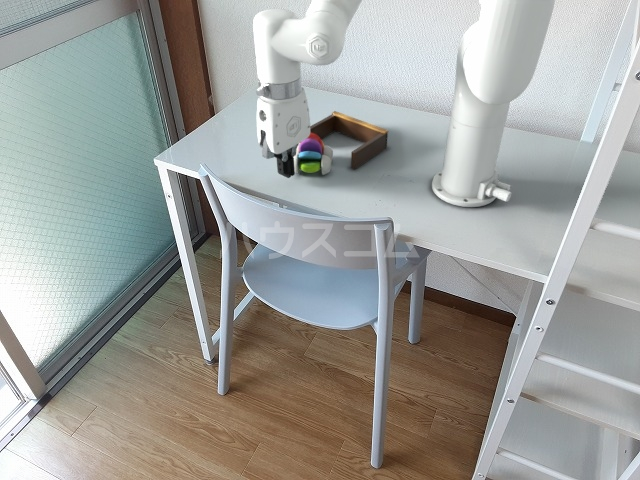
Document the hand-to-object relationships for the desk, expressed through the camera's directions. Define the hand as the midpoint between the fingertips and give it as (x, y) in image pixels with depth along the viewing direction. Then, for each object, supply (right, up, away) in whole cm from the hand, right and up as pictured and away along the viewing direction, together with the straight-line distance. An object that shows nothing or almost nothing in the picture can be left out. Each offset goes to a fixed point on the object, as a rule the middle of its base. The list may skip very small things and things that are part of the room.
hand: (286, 174), depth 103 cm
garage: (+12, +7, +11) cm, 18 cm away
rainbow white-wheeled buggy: (+5, +2, +6) cm, 8 cm away
